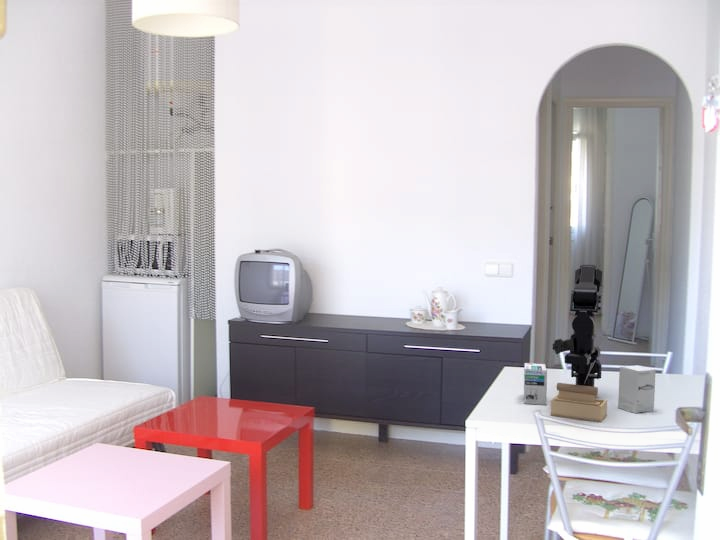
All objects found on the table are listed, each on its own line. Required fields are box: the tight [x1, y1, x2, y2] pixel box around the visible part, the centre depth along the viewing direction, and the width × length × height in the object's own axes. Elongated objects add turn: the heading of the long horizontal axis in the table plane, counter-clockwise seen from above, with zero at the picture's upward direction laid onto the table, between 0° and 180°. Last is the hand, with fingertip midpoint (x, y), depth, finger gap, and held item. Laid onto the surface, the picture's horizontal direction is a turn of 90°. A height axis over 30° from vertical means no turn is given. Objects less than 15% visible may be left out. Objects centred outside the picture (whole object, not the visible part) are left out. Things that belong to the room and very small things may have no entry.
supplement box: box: [617, 364, 657, 414], centre depth 225 cm, size 7×7×13 cm
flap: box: [552, 382, 600, 405], centre depth 215 cm, size 3×13×5 cm, turn 61°
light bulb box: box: [523, 362, 548, 406], centre depth 235 cm, size 11×7×11 cm, turn 168°
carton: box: [549, 393, 608, 423], centre depth 218 cm, size 8×14×4 cm, turn 61°
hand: (582, 384), depth 220 cm, fingers closed
